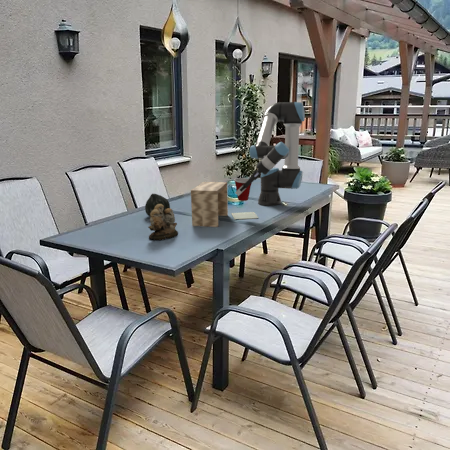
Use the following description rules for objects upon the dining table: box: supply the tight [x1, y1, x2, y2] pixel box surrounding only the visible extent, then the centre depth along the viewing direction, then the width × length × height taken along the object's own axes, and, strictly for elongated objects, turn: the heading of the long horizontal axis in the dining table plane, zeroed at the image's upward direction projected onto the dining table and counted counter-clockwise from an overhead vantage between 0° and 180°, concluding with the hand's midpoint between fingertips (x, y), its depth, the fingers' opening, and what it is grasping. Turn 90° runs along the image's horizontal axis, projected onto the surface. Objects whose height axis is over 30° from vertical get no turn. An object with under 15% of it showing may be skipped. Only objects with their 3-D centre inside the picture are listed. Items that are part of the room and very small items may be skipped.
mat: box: [231, 211, 259, 221], centre depth 264 cm, size 14×14×1 cm
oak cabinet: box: [190, 181, 229, 228], centre depth 254 cm, size 14×26×20 cm, turn 167°
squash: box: [144, 193, 171, 218], centre depth 266 cm, size 14×15×15 cm
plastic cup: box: [233, 177, 253, 202], centre depth 256 cm, size 11×11×12 cm
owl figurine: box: [147, 204, 179, 241], centre depth 226 cm, size 18×12×17 cm, turn 144°
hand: (238, 192), depth 257 cm, fingers closed on plastic cup, 10 cm apart
